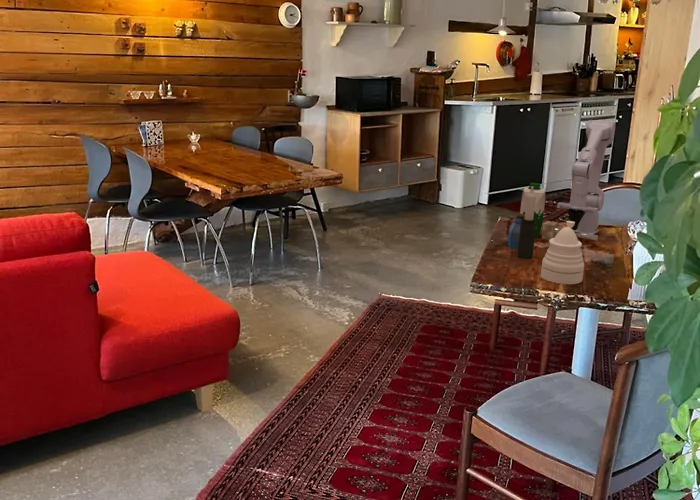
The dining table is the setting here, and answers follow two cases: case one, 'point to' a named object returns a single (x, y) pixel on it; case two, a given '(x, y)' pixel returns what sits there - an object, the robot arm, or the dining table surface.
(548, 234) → the clamp block
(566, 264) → the honey pot
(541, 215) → the milk carton
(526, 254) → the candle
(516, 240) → the perfume bottle
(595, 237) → the pipe
